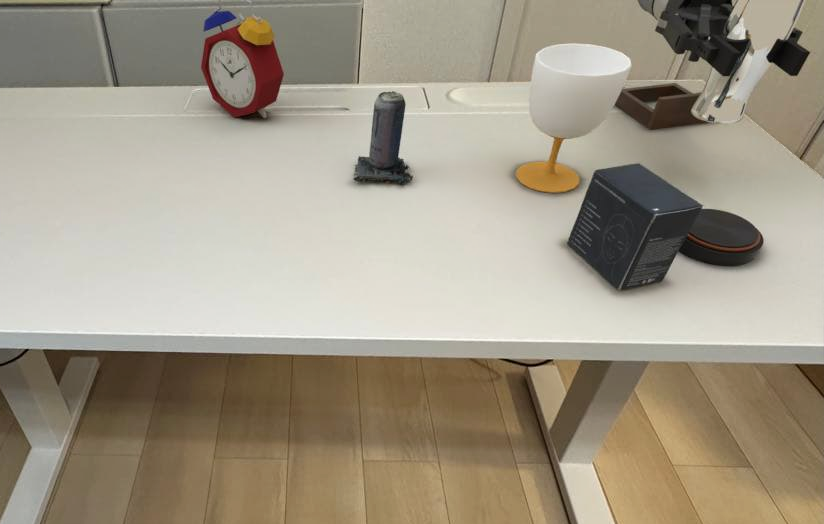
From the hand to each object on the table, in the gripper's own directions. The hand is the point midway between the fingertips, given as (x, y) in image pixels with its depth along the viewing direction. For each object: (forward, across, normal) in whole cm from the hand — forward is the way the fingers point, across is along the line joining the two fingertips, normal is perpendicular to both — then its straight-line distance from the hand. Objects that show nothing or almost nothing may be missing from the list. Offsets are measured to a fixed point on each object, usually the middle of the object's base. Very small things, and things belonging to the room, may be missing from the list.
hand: (765, 64), depth 70 cm
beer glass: (-5, 0, -8) cm, 10 cm away
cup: (-5, +20, -18) cm, 27 cm away
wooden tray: (-28, -4, -18) cm, 34 cm away
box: (+16, +16, -18) cm, 29 cm away
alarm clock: (-29, +68, -18) cm, 77 cm away
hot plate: (+11, +3, -18) cm, 21 cm away
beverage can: (-5, +44, -18) cm, 48 cm away
